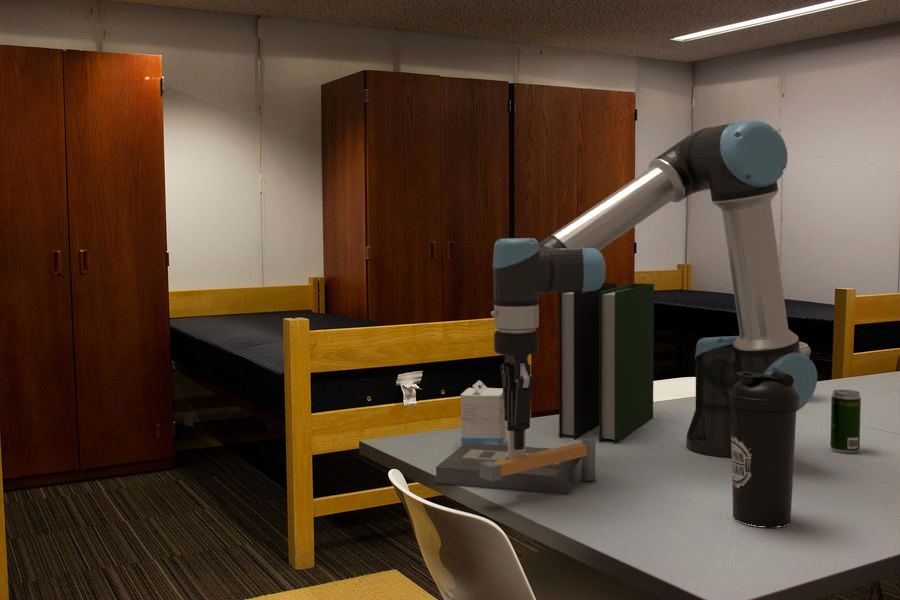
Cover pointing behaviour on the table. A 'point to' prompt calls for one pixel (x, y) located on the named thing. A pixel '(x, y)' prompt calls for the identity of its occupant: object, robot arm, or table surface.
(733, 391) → the water bottle
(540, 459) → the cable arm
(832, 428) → the beer can
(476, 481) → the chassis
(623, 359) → the books
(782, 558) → the table surface
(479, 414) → the ink box
